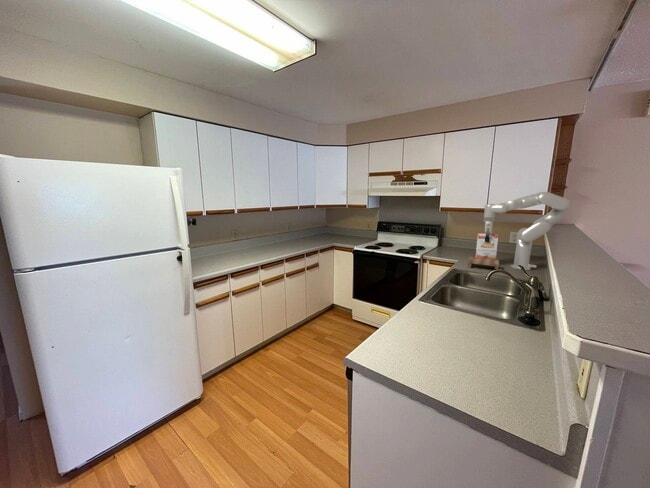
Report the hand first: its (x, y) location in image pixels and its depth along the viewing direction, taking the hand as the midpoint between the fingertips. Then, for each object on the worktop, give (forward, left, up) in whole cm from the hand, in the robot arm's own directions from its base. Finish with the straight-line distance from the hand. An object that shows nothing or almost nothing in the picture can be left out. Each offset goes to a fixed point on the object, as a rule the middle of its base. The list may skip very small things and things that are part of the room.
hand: (487, 241), depth 216 cm
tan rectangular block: (+1, +13, -19) cm, 23 cm away
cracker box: (0, 0, -15) cm, 15 cm away
